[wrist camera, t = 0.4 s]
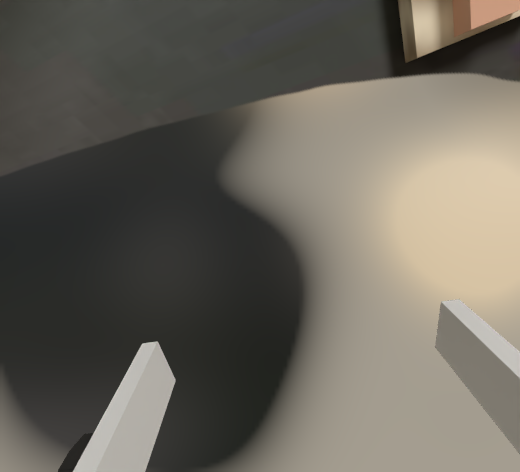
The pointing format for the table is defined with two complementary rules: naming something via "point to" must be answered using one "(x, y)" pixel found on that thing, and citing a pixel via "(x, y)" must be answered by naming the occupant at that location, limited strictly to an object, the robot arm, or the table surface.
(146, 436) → the robot arm
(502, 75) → the table surface
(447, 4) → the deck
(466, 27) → the block
